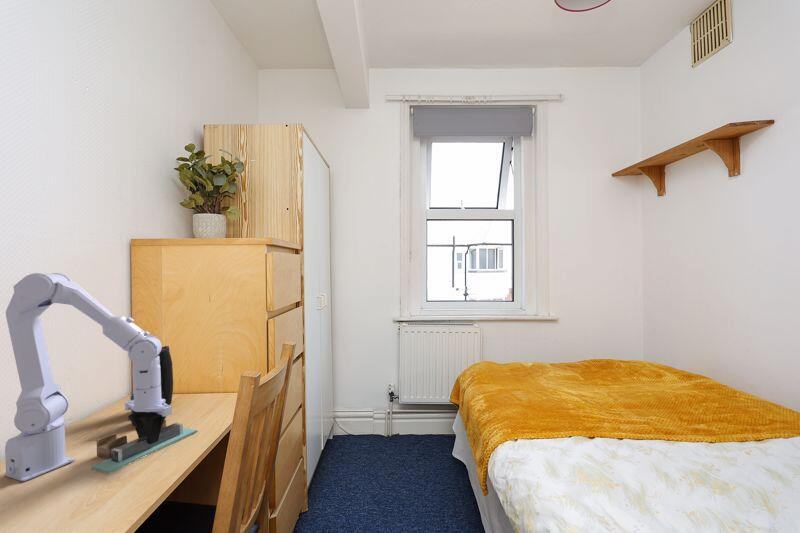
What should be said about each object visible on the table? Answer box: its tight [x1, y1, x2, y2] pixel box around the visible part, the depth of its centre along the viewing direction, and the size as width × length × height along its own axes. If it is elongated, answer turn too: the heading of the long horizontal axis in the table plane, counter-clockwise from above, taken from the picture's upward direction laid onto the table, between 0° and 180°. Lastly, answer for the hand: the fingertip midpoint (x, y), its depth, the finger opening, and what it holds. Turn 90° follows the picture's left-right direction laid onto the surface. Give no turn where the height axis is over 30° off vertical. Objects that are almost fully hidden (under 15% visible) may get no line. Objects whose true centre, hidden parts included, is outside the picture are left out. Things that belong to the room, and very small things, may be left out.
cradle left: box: [96, 432, 128, 460], centre depth 92 cm, size 4×5×4 cm
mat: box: [91, 427, 198, 474], centre depth 95 cm, size 22×6×1 cm, turn 157°
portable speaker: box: [155, 345, 174, 406], centre depth 123 cm, size 9×9×20 cm
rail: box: [111, 422, 183, 463], centre depth 95 cm, size 16×2×2 cm, turn 157°
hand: (149, 441), depth 95 cm, fingers closed on rail, 2 cm apart
